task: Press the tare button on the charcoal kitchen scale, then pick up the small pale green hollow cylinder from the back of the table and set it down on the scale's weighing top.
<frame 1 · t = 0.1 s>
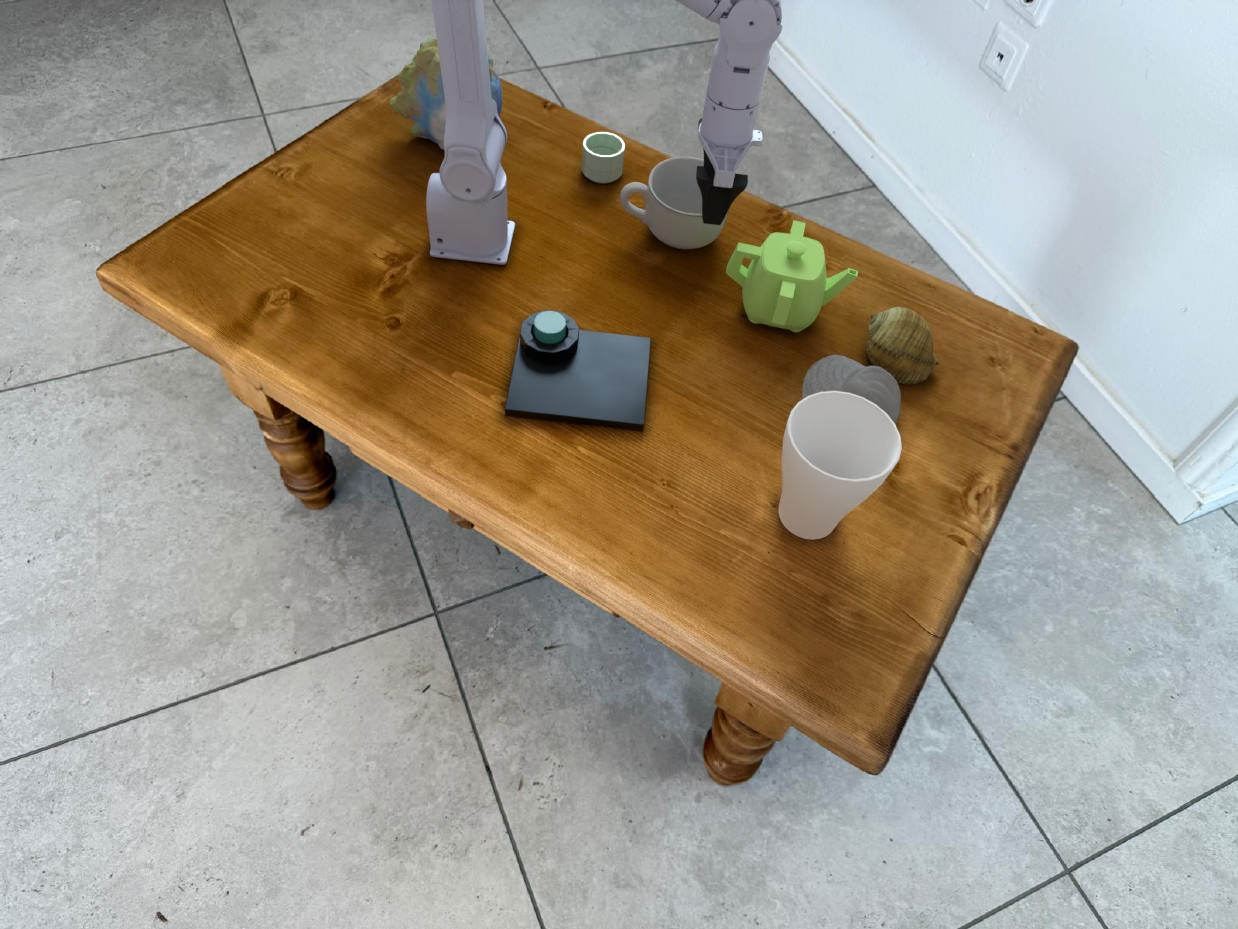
hand: (712, 201, 104), 10 cm above the table, tool pointing down, fingers open, 7 cm apart
teapot: (778, 310, 109), on the table
cup: (806, 516, 91), on the table
teacup: (670, 234, 116), on the table
seashell: (896, 358, 105), on the table
pale green hollow cylinder: (601, 172, 122), on the table
tare button: (549, 327, 99), point 3 cm above the table, slide at 0.1 cm
scale: (580, 379, 99), on the table
decorative rock: (449, 134, 124), on the table
seashell 2: (844, 416, 99), on the table
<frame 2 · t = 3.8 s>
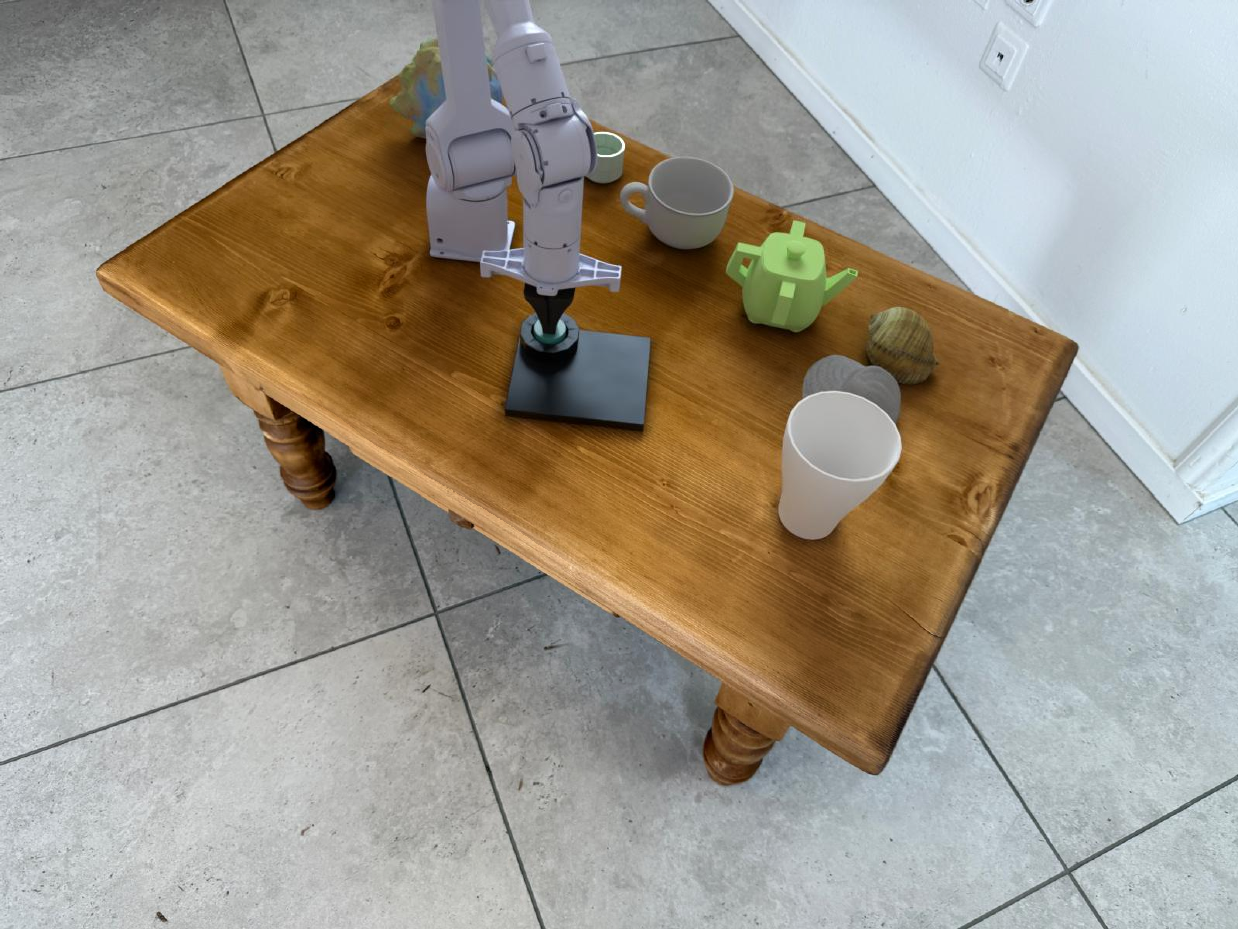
hand: (549, 327, 99), 3 cm above the table, tool pointing down, fingers closed, pressing on tare button
tare button: (549, 333, 99), point 3 cm above the table, slide at -0.7 cm, touching gripper
everything else where it was.
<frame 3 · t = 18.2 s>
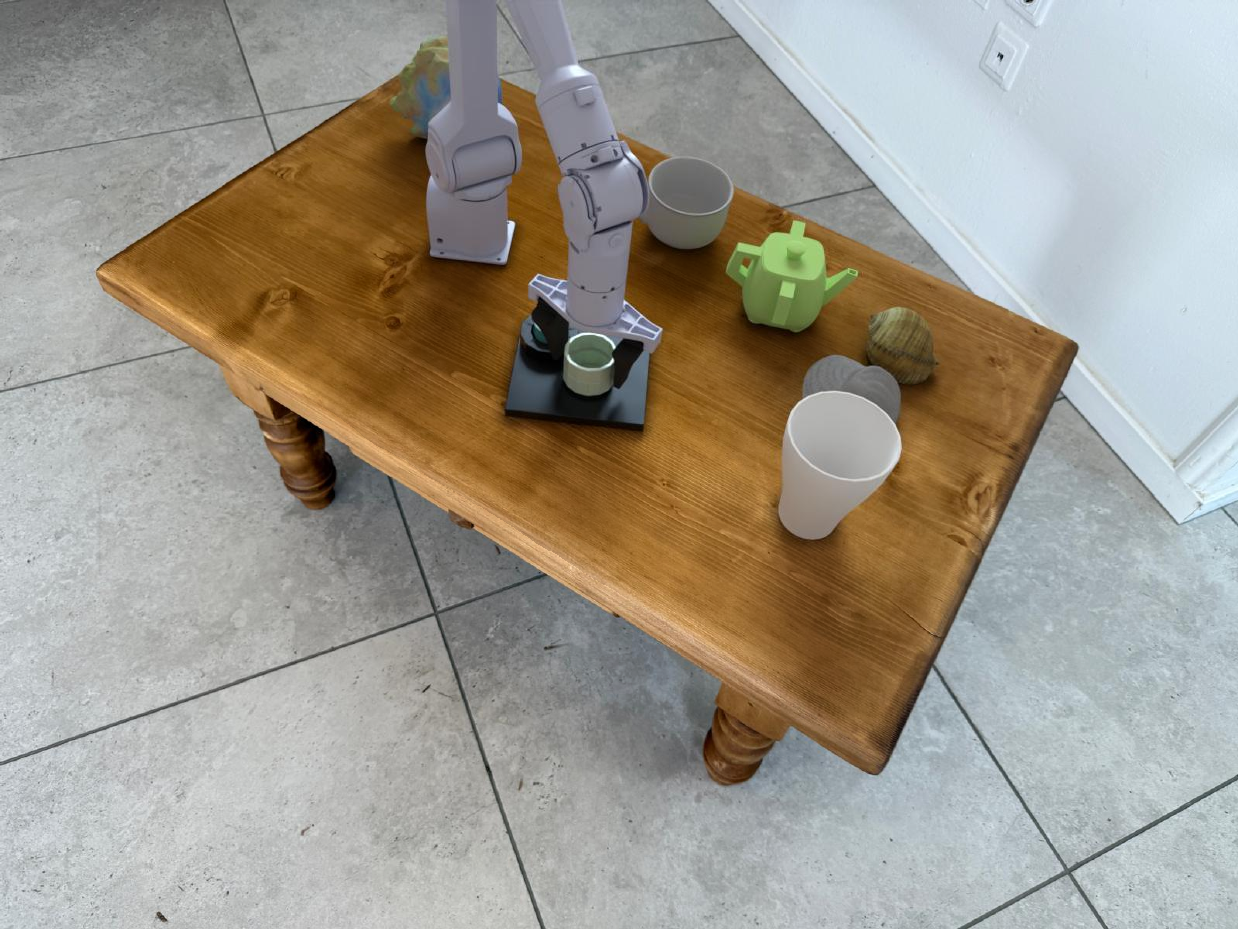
hand: (589, 367, 96), 3 cm above the table, tool pointing down, fingers open, 7 cm apart
pale green hollow cylinder: (588, 379, 98), point 1 cm above the table, touching scale
tare button: (549, 327, 99), point 3 cm above the table, slide at 0.1 cm
everything else where it was.
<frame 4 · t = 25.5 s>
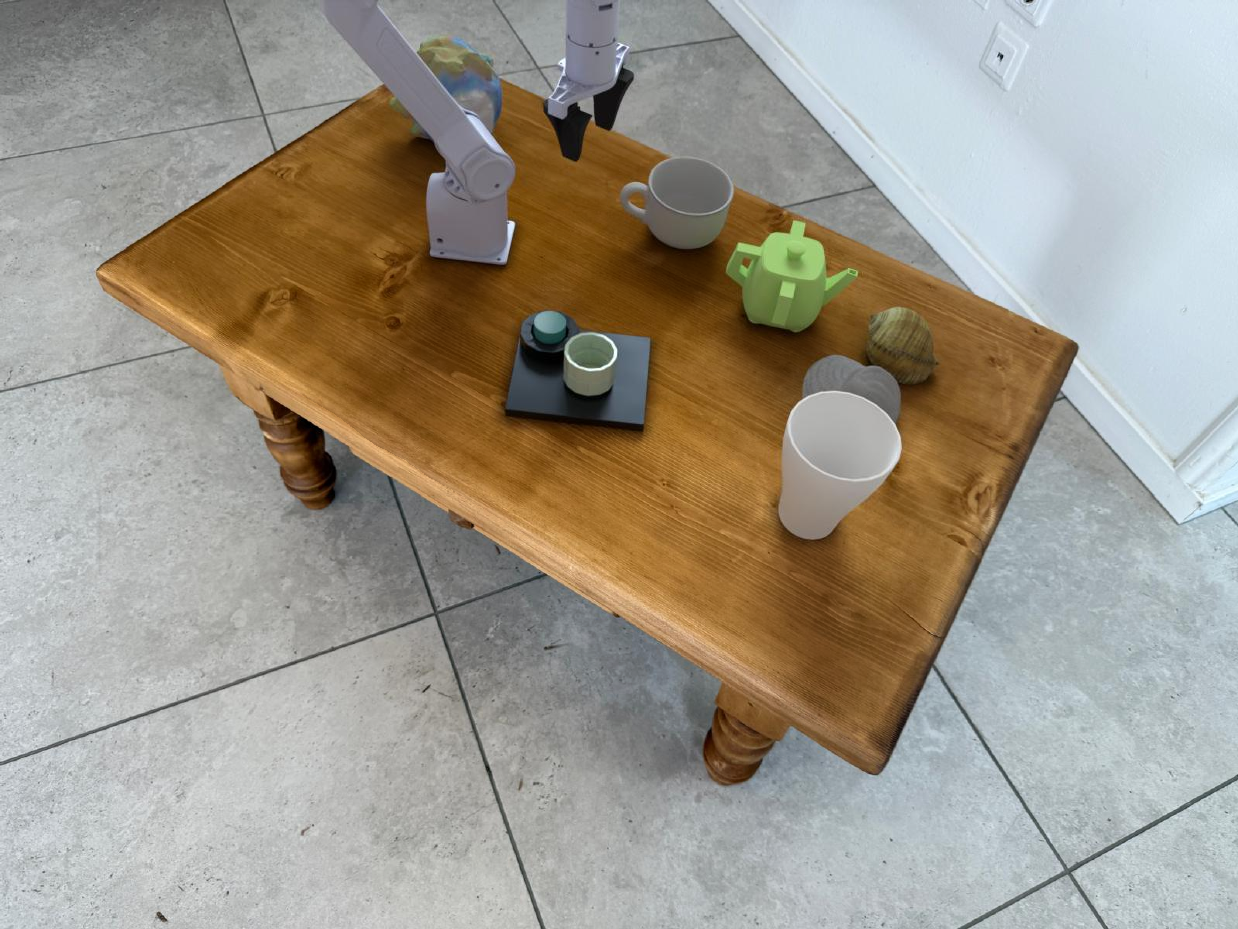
hand: (587, 142, 108), 10 cm above the table, tool pointing down, fingers open, 7 cm apart
nothing on the table moved.
at the end: tare button pushed in 1.2 cm at the most during the clip, back to where it started at the end; pale green hollow cylinder inside the target area on the scale (1.4 cm from its centre), point 1.2 cm above the scale's base; pale green hollow cylinder touching scale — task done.
